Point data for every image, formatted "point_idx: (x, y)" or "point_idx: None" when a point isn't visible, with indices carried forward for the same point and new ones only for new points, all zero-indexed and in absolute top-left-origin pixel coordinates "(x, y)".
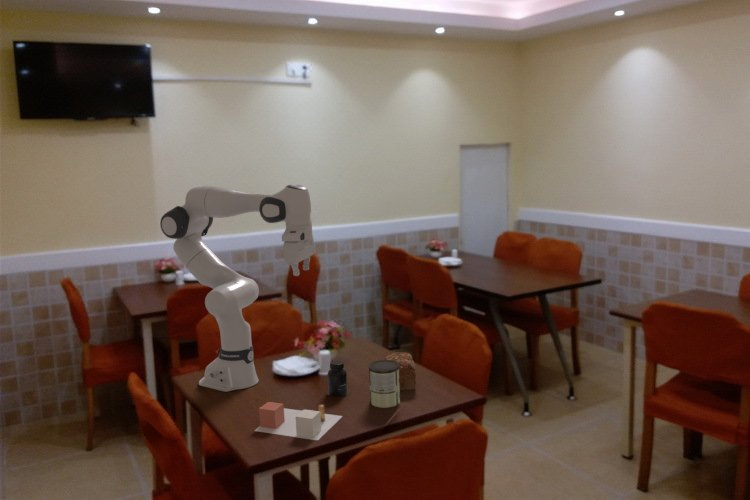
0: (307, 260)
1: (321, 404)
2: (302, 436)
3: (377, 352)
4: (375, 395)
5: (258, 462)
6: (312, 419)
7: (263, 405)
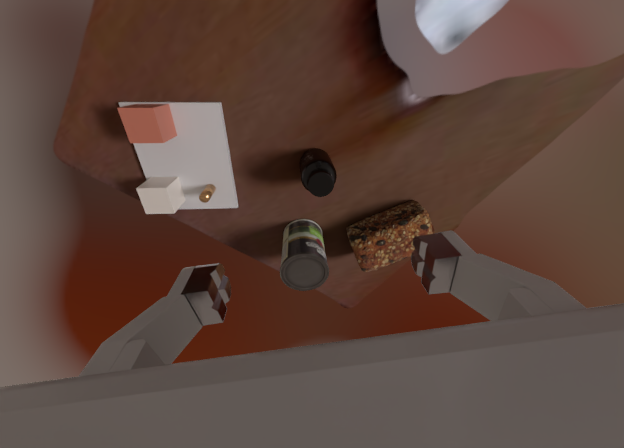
0: (500, 310)
1: (208, 196)
2: None
3: (528, 145)
4: (283, 242)
5: (63, 161)
6: (148, 213)
7: (133, 108)
